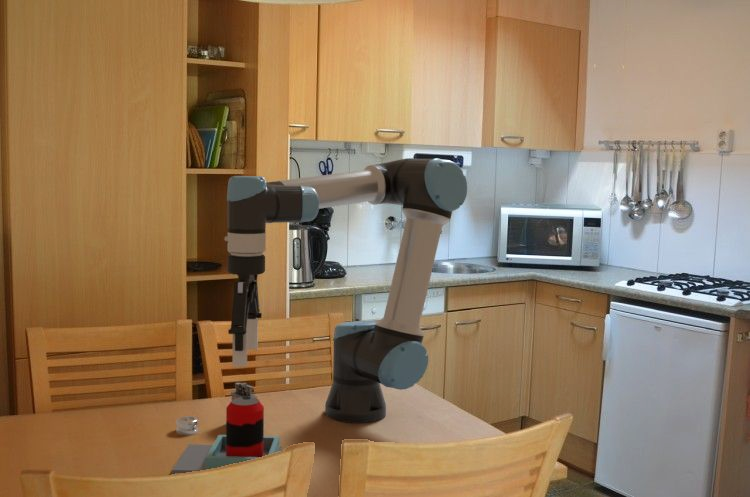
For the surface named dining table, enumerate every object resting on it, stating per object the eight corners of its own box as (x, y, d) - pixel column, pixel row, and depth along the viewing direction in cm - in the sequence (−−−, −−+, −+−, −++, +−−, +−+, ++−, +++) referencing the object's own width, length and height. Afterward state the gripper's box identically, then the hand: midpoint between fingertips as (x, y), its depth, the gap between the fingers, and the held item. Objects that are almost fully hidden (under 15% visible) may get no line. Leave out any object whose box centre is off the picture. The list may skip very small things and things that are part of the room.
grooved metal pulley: (189, 436, 177) (202, 429, 181) (189, 423, 177) (203, 417, 181) (171, 432, 179) (185, 426, 184) (171, 420, 179) (185, 413, 183)
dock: (282, 451, 169) (282, 435, 169) (273, 477, 155) (273, 460, 155) (188, 448, 169) (188, 433, 169) (172, 474, 155) (172, 457, 155)
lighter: (227, 422, 187) (227, 381, 186) (238, 419, 189) (239, 378, 188) (248, 431, 181) (248, 388, 180) (260, 427, 184) (260, 386, 183)
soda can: (264, 451, 166) (265, 395, 165) (261, 464, 159) (262, 406, 158) (228, 451, 166) (228, 395, 165) (223, 464, 158) (224, 406, 157)
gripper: (238, 246, 170) (237, 342, 172) (214, 261, 145) (214, 373, 148) (273, 246, 170) (272, 343, 172) (255, 262, 145) (254, 374, 147)
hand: (245, 357), depth 160 cm, fingers open, 13 cm apart
